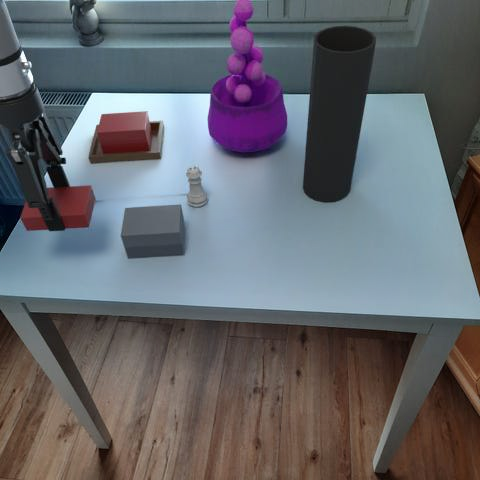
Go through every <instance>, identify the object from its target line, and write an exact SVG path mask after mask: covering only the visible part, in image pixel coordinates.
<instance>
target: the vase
mask: <svg viewBox="0 0 480 480" xmlns="http://www.w3.org/2000/svg"><path fill="white" fill-rule="evenodd" d="M376 45H377V37H376V36H375V35H374V33H373V32H371V31H370V30H368V29H366V28H362V27H358V26H352V25H336V26H335V25H334V26H331V27H330V26H329V27H326V28H324V29H322V30H319V31H318V32H317V33H316V34H315V35H314V37H313V46H312V59H311V60H312V61H311V70H310V71H311V72H310V73H311V74H310V84H309V85H310V86H309V99H308V100H309V101H308V110H307V111H308V112H307V125H306V138H305V139H306V140H305V151H304V153H305V154H304V164H303V165H304V167H303V179H302V189H303V192H304V194H305V195H306V196H307V197H308V198H310V199H313V200H314V201H318V202H321V203H334V202H337V201H342V200H343V199H345V198H346V197H347V196H348V195H349V194H350V192H351V187H352V182H353V175H354V171H355V166H356V160H357V153H358V149H359V148H358V147H359V142H360V137H361V130H362V124H363V119H364V113H365V108H366V107H365V106H366V100H367V96H368V90H369V85H370V84H369V83H370V79H371V73H372V69H373V68H372V67H373V62H374V56H375V51H376Z"/></svg>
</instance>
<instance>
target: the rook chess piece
mask: <svg viewBox="0 0 480 480" xmlns="http://www.w3.org/2000/svg"><path fill="white" fill-rule="evenodd" d="M202 174H203V172H202V170H200V167H199V166H196V165H193V167H192V166H189V168H187V169H186V172H185V176H186V178H187V182H188V184H189V190H188V192H187V195H186V198H187V199H186V201H187V203H188V205H189V206H191V207H193V208H201V207H204V206H205V205H206V204H207V203H208V201H209V198H208V194H207V192H206V190H205V188H203V184H202V177H201V176H202Z"/></svg>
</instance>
